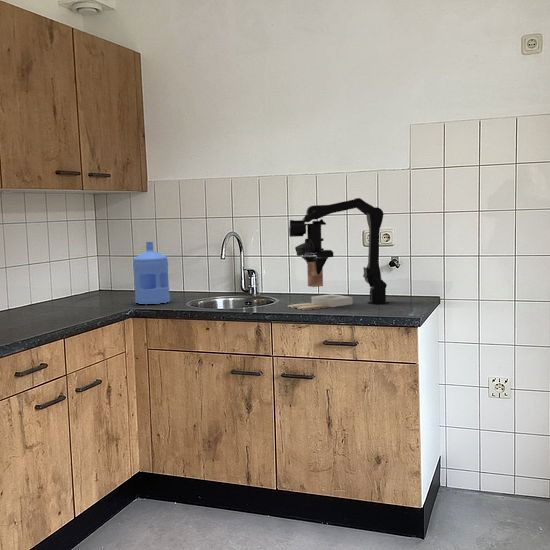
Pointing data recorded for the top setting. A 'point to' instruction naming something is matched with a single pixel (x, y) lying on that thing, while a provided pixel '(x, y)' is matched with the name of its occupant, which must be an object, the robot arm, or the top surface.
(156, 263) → the water jug
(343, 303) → the pocket plate
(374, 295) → the robot arm
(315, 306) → the slatted wooden trivet
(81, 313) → the top surface
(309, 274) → the terracotta peg
